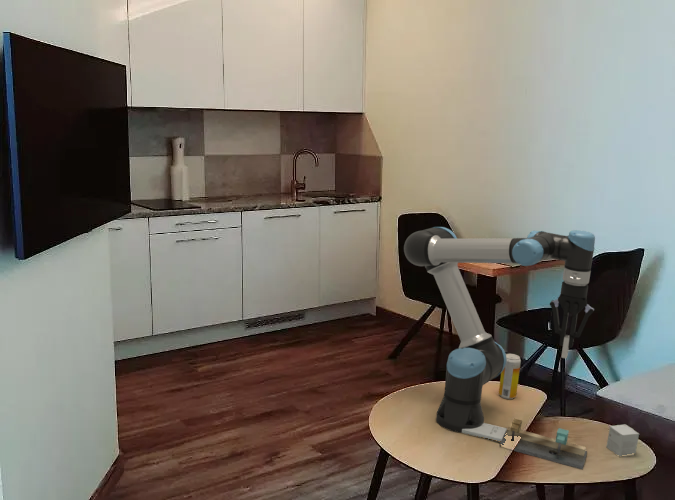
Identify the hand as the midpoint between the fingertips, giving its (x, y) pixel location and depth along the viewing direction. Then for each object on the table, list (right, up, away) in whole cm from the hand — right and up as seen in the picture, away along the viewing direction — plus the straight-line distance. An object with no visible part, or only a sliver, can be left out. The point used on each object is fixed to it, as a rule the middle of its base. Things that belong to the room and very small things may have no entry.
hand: (564, 356), depth 211 cm
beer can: (-10, -19, +32) cm, 39 cm away
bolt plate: (-8, -28, -4) cm, 29 cm away
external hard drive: (-24, -25, +4) cm, 35 cm away
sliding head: (-3, -27, -5) cm, 28 cm away
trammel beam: (-7, -26, -4) cm, 28 cm away
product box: (+17, -29, -1) cm, 33 cm away
